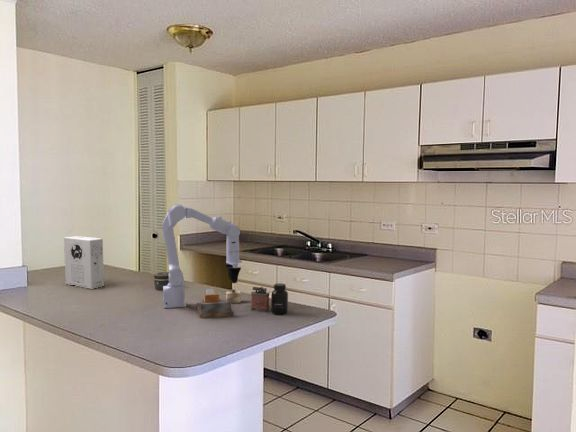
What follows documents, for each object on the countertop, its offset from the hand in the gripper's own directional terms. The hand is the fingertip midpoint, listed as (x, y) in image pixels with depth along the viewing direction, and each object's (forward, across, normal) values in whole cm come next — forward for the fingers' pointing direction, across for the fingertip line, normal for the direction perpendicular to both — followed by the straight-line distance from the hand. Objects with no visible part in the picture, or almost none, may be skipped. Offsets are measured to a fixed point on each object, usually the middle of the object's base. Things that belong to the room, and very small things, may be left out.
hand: (233, 281), depth 220 cm
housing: (+10, 0, 0) cm, 10 cm away
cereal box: (+10, +52, +70) cm, 88 cm away
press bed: (+9, -7, +10) cm, 16 cm away
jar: (+10, +35, +30) cm, 47 cm away
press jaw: (+8, 0, +10) cm, 13 cm away
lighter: (+10, -17, -9) cm, 22 cm away
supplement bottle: (+10, -23, -16) cm, 30 cm away
